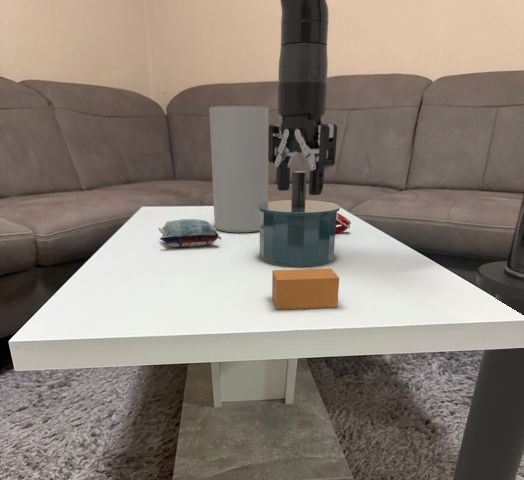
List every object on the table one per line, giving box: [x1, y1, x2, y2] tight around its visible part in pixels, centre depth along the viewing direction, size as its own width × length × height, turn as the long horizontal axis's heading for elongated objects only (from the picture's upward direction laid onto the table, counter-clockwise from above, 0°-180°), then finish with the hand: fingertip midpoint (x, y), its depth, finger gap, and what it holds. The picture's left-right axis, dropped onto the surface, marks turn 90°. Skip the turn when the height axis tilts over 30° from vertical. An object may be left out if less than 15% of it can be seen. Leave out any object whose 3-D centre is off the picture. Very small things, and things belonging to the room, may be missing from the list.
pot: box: [259, 211, 338, 268], centre depth 81 cm, size 13×13×8 cm
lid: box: [257, 170, 341, 216], centre depth 78 cm, size 14×14×7 cm
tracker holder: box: [335, 212, 352, 234], centre depth 101 cm, size 12×4×10 cm
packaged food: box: [157, 218, 222, 248], centre depth 91 cm, size 9×12×5 cm
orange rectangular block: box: [271, 267, 340, 311], centre depth 60 cm, size 8×4×4 cm, turn 96°
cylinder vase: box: [208, 105, 270, 234], centre depth 101 cm, size 12×12×25 cm
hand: (298, 192), depth 78 cm, fingers open, 7 cm apart
